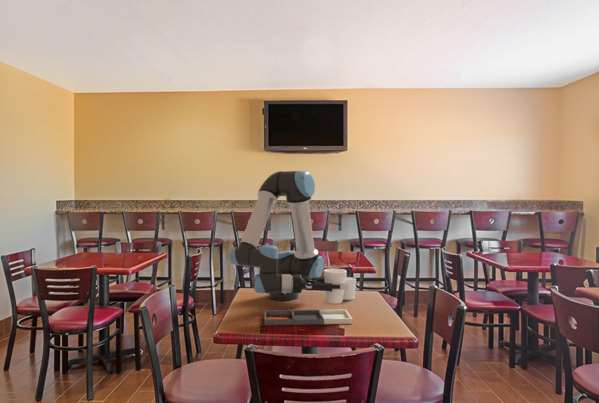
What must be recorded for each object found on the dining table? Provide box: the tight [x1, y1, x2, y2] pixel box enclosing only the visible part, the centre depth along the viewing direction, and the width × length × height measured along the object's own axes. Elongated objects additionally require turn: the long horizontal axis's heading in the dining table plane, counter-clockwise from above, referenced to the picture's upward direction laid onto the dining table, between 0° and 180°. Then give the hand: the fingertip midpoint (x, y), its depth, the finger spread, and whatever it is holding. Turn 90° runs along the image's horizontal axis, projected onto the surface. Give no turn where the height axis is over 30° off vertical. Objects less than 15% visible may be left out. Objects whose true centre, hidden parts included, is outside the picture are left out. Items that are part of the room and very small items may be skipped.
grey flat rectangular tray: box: [264, 308, 353, 326], centre depth 166 cm, size 35×13×2 cm, turn 95°
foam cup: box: [323, 268, 347, 304], centre depth 167 cm, size 10×9×13 cm
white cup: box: [343, 276, 357, 301], centre depth 201 cm, size 8×8×10 cm
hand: (345, 283), depth 167 cm, fingers closed on foam cup, 9 cm apart
